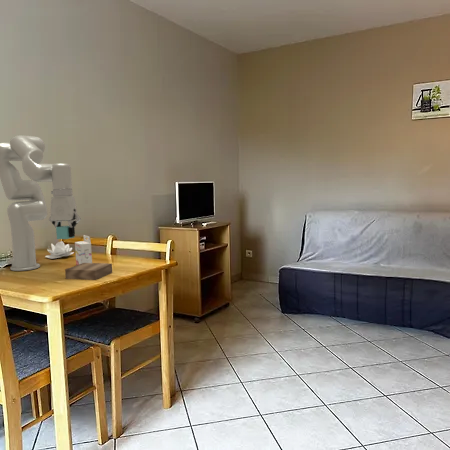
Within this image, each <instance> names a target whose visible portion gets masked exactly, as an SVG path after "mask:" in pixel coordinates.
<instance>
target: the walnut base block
mask: <svg viewBox="0 0 450 450" xmlns="http://www.w3.org/2000/svg"><path fill="white" fill-rule="evenodd" d="M64 271H65V272H64V274H65V280H82V281H83V280H85V281H86V280H87V281H88V280H89V281H97V280H99V279H101V278H103V277H106V276H108V275H110V274H112V273H113V263H104V262H102V263H101V262H92V263H82V264H79V265H76V264H75V265H74V266H72V267H68V268H66V269H64Z"/></svg>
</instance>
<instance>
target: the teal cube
mask: <svg viewBox="0 0 450 450" xmlns="http://www.w3.org/2000/svg"><path fill="white" fill-rule="evenodd" d="M68 228H70V227H69V225H61V226H59V227H56V228H55V231H56V233H55V234H56V240H70V239H74V238H75V237H76V236H74V237H69V231H68Z"/></svg>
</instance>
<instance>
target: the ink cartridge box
mask: <svg viewBox="0 0 450 450" xmlns="http://www.w3.org/2000/svg"><path fill="white" fill-rule="evenodd" d="M82 237H83V241H75V242H74V249H75V266H76V265H79V264H82V263H93V255H92V243H91V236H88V235H85V234H83V236H82Z"/></svg>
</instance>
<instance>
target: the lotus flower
mask: <svg viewBox="0 0 450 450" xmlns="http://www.w3.org/2000/svg"><path fill="white" fill-rule="evenodd" d="M50 245H51V246H48V248H47V249H46V250H47V252H48V253H49V254H48V255H45V256H44V257H45V258H48V259H51V260H52V259H57V258H58V259H59V258H62V257H68V256H71V255H73V254H74V253H75V254H76V252H74V251H73V252H72V250H73V247H70V244H69V243H68V244H65V243H64V241H62V240H60V241H58V242H56V244H55V245H54V244H53V243H52V242H51V244H50ZM50 247H51V248H50Z"/></svg>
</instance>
